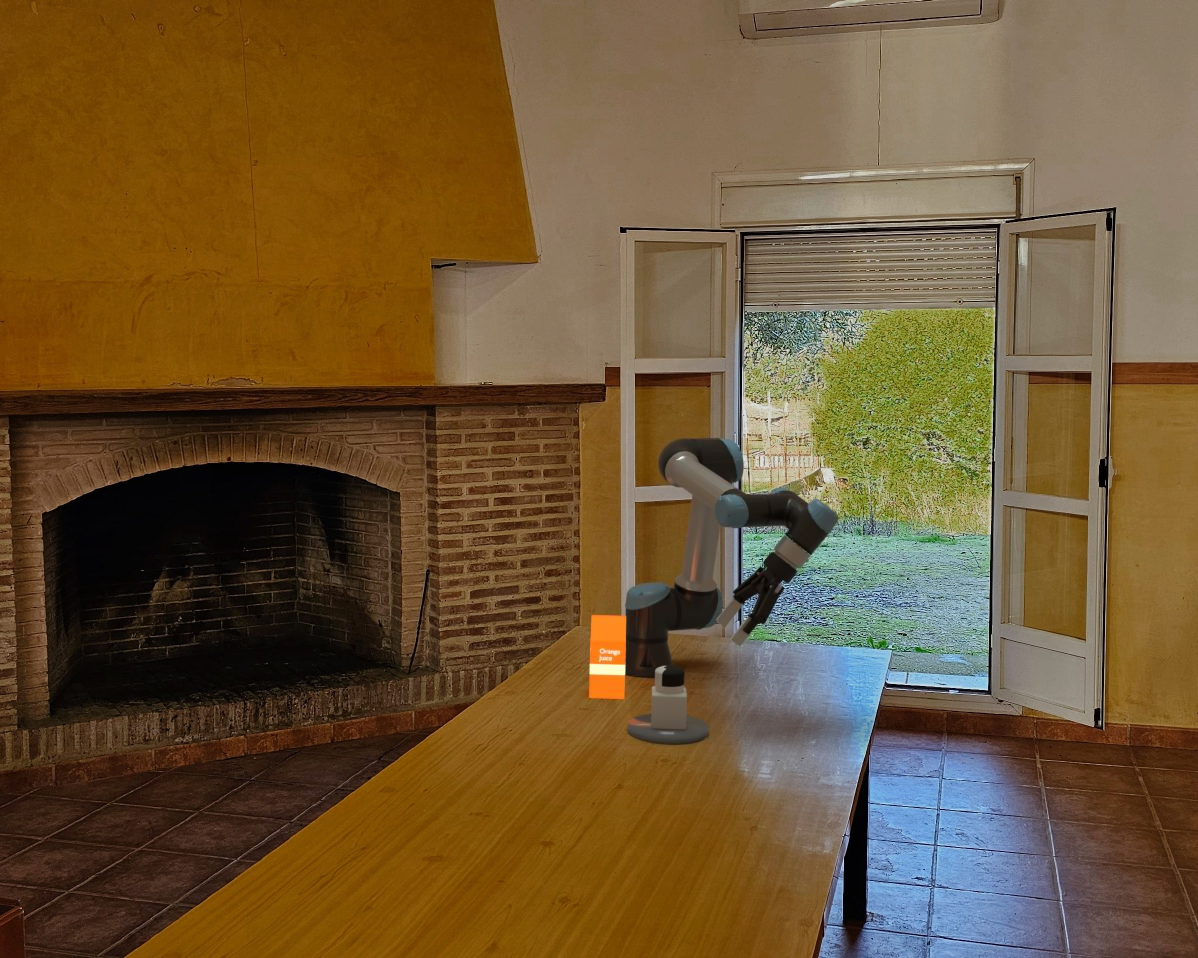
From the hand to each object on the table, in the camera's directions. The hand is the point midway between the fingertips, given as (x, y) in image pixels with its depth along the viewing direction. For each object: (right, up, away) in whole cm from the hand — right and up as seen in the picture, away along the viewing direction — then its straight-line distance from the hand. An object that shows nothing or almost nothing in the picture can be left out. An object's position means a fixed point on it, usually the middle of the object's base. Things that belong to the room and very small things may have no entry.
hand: (727, 632), depth 255 cm
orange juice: (-27, -19, +24) cm, 41 cm away
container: (-14, -20, -5) cm, 25 cm away
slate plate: (-14, -21, -5) cm, 26 cm away
